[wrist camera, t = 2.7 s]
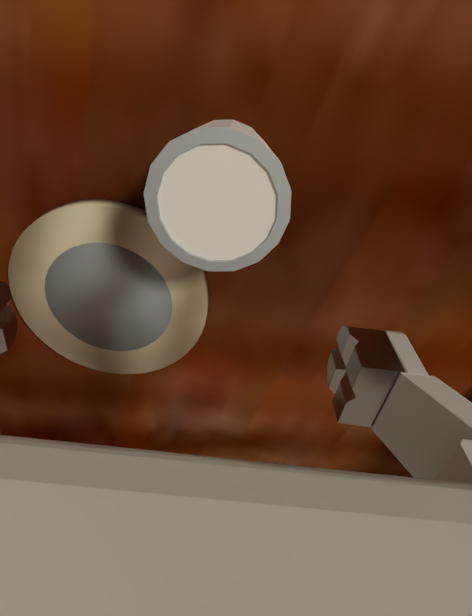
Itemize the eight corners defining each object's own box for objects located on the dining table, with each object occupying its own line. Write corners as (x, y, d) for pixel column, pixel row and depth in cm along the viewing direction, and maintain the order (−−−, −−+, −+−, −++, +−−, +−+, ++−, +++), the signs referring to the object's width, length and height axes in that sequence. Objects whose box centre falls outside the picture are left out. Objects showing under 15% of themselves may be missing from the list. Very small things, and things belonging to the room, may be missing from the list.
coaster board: (219, 216, 25) (218, 223, 24) (199, 374, 33) (197, 385, 32) (0, 183, 25) (-12, 189, 24) (31, 352, 32) (24, 362, 31)
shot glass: (242, 241, 26) (240, 295, 21) (150, 186, 25) (119, 228, 19) (305, 151, 23) (323, 185, 17) (204, 79, 21) (187, 89, 15)
